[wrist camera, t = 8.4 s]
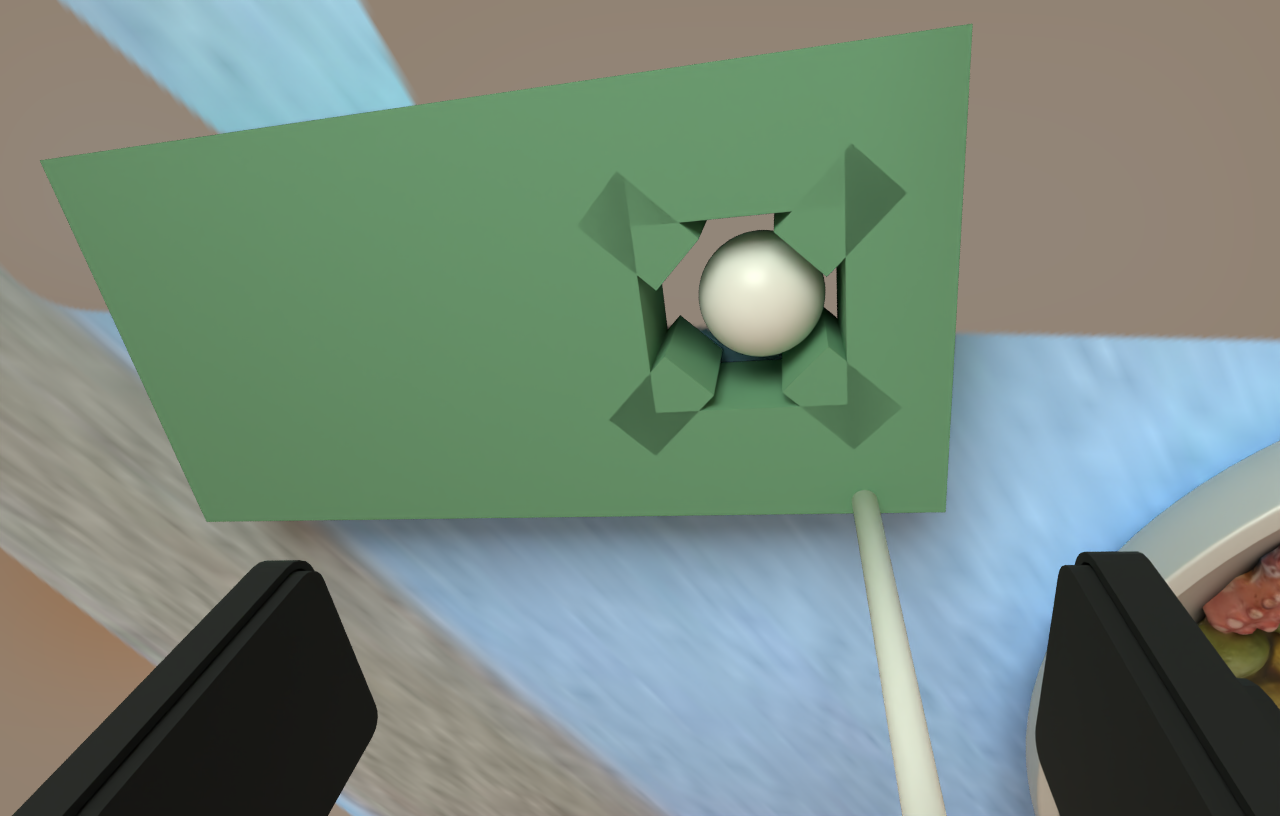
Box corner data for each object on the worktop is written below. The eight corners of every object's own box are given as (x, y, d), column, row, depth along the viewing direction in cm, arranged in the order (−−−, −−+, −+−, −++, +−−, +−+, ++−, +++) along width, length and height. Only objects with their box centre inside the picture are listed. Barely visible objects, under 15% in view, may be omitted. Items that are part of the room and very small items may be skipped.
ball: (707, 256, 20) (808, 190, 21) (658, 284, 24) (746, 226, 25) (778, 375, 21) (873, 305, 22) (720, 384, 25) (803, 323, 26)
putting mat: (137, 146, 27) (-807, 283, 11) (939, 28, 21) (1462, -50, 5) (268, 470, 33) (-219, 869, 17) (923, 451, 27) (1136, 1040, 11)
